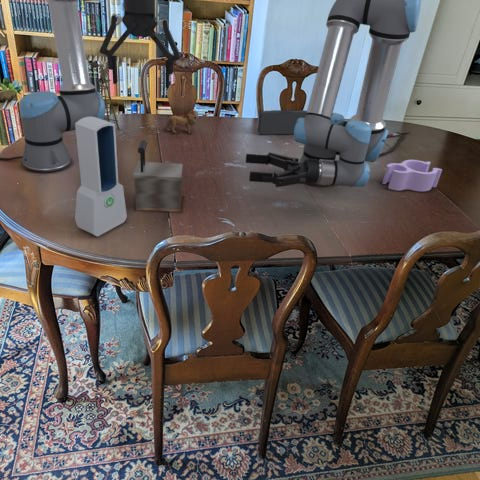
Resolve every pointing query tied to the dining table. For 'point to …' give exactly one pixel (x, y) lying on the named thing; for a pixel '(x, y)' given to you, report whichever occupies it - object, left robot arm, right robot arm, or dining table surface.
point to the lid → (155, 167)
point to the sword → (396, 134)
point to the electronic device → (98, 177)
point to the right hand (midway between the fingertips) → (247, 166)
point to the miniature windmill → (102, 81)
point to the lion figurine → (183, 121)
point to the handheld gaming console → (279, 121)
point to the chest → (158, 194)
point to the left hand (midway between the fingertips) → (141, 84)
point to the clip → (411, 176)
